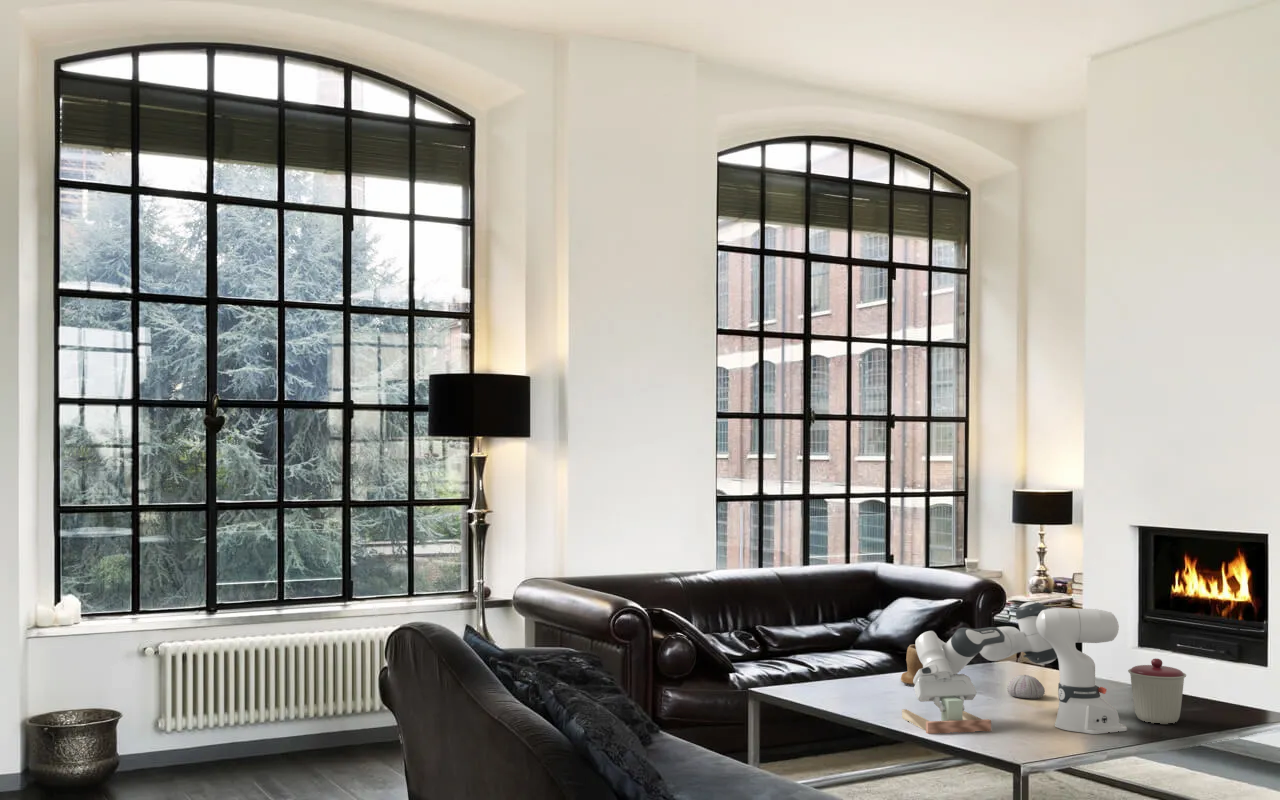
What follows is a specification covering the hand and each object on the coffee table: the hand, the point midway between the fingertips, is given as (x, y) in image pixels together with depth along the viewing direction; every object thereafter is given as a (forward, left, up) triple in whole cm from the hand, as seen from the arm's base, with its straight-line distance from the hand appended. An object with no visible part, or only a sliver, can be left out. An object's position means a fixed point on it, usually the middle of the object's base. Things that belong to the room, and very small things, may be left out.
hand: (952, 710), depth 383 cm
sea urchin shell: (-52, -45, -6) cm, 69 cm away
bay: (0, -6, -6) cm, 8 cm away
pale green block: (0, -1, -4) cm, 4 cm away
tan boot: (-22, -75, -6) cm, 78 cm away
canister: (-75, 0, -6) cm, 75 cm away
